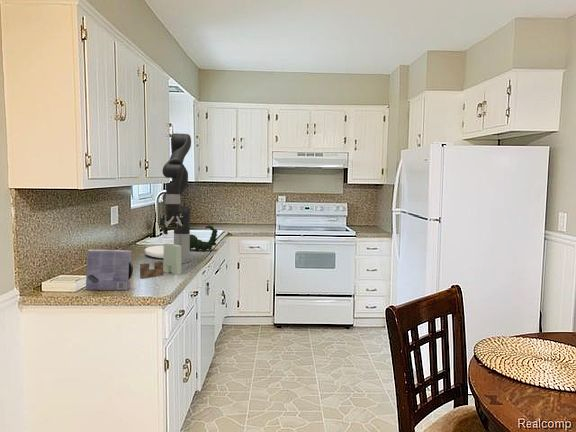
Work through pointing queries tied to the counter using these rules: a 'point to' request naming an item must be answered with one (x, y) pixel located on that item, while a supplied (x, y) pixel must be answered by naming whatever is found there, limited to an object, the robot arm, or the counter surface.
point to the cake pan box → (108, 270)
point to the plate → (155, 251)
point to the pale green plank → (172, 259)
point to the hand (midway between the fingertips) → (172, 233)
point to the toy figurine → (204, 245)
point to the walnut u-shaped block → (151, 270)
